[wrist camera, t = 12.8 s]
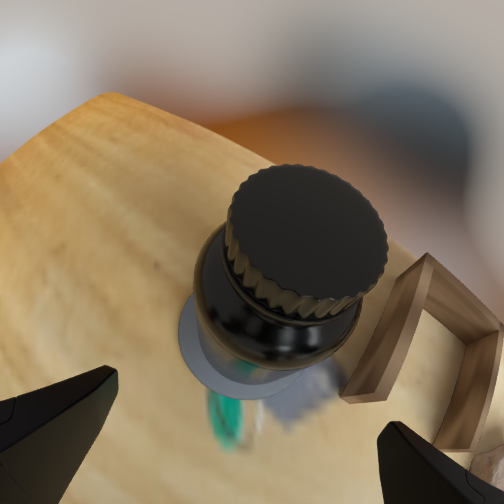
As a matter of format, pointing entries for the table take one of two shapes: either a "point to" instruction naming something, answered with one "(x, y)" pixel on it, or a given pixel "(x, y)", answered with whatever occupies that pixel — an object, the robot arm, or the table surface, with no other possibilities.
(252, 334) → the supplement bottle
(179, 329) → the coaster
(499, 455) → the brick
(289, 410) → the table surface
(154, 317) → the table surface
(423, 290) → the wooden u-shaped frame
